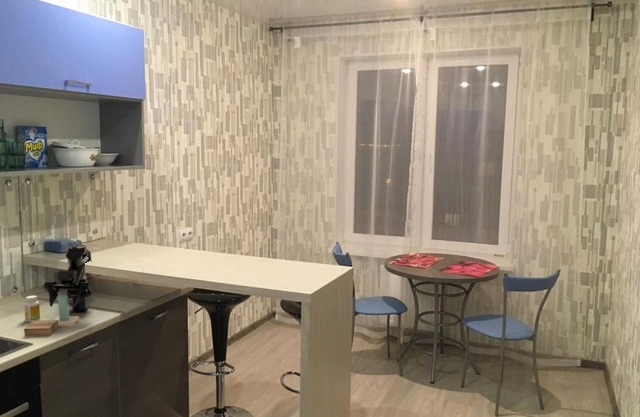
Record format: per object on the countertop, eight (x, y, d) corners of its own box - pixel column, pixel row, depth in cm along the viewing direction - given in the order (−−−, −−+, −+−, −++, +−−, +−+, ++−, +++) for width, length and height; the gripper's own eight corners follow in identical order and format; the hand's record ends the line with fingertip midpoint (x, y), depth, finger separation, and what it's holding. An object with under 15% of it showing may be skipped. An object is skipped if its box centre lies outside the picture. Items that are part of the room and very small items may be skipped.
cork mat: (55, 319, 222) (55, 318, 222) (81, 318, 223) (81, 317, 223) (46, 327, 212) (46, 326, 212) (73, 326, 213) (73, 325, 213)
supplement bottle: (42, 317, 224) (41, 294, 222) (36, 321, 218) (34, 298, 217) (29, 317, 223) (28, 294, 222) (22, 321, 218) (21, 298, 217)
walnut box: (34, 328, 211) (33, 320, 211) (58, 327, 212) (58, 320, 212) (24, 336, 202) (23, 328, 202) (50, 335, 203) (49, 328, 203)
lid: (57, 318, 221) (55, 293, 220) (78, 317, 223) (77, 292, 221) (49, 325, 213) (47, 299, 212) (72, 324, 214) (70, 298, 213)
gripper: (44, 262, 219) (30, 296, 209) (89, 263, 218) (76, 297, 209) (55, 276, 228) (42, 309, 218) (98, 277, 227) (87, 310, 217)
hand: (61, 306), depth 215 cm, fingers open, 9 cm apart
